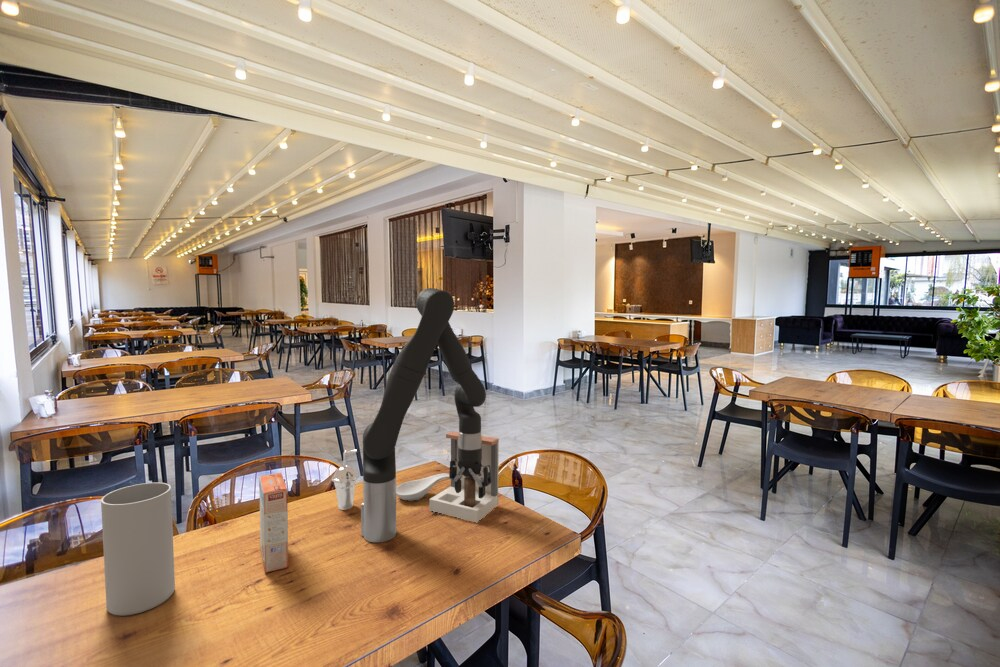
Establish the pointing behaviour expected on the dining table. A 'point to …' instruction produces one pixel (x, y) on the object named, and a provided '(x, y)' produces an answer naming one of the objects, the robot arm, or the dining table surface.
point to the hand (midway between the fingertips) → (469, 494)
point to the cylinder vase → (138, 547)
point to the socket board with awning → (454, 502)
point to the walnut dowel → (469, 492)
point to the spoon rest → (418, 487)
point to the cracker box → (273, 522)
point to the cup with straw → (345, 484)
